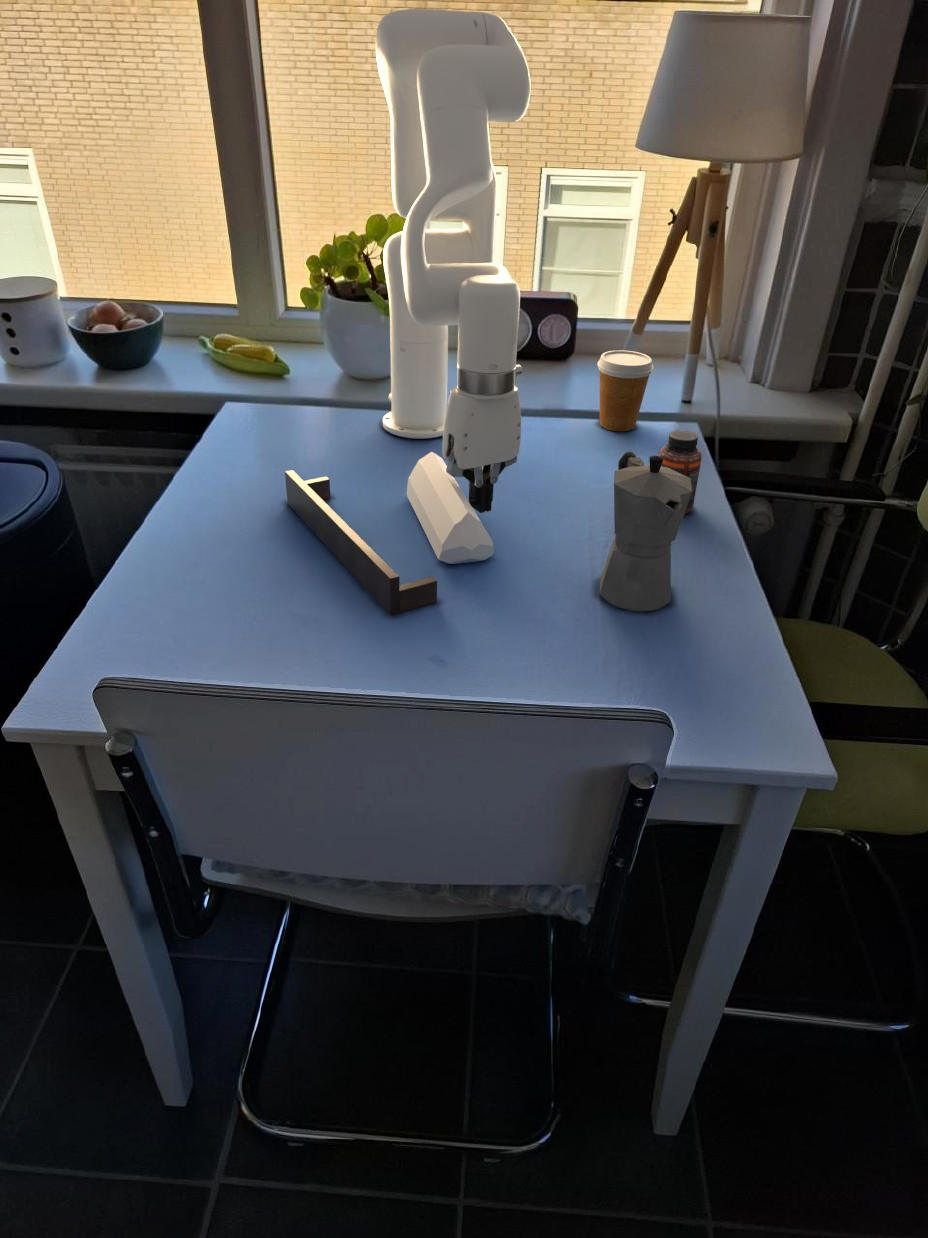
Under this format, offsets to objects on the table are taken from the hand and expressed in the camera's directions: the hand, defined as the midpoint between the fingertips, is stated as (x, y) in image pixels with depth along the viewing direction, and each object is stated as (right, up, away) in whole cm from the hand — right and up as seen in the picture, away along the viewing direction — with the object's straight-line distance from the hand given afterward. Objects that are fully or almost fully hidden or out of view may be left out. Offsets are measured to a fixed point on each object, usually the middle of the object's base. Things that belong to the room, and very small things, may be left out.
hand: (480, 508), depth 122 cm
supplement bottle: (+28, +1, +6) cm, 29 cm away
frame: (-17, -6, -7) cm, 19 cm away
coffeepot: (+19, -12, -13) cm, 26 cm away
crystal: (-5, -3, -1) cm, 6 cm away
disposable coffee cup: (+25, +19, +33) cm, 46 cm away
